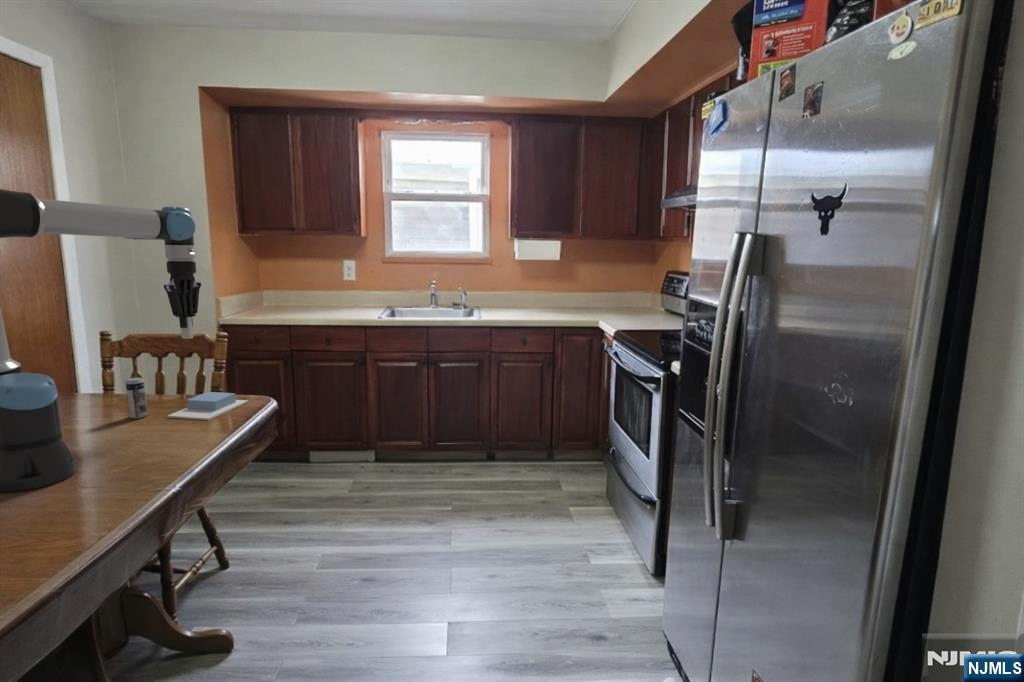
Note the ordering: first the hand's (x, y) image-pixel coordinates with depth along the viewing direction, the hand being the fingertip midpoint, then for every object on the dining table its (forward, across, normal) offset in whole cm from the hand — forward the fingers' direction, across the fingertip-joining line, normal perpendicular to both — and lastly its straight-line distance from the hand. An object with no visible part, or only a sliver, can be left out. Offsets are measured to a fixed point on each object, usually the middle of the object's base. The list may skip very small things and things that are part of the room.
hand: (187, 338), depth 168 cm
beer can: (+25, -5, +15) cm, 29 cm away
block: (+22, +4, 0) cm, 23 cm away
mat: (+24, +6, -1) cm, 25 cm away
